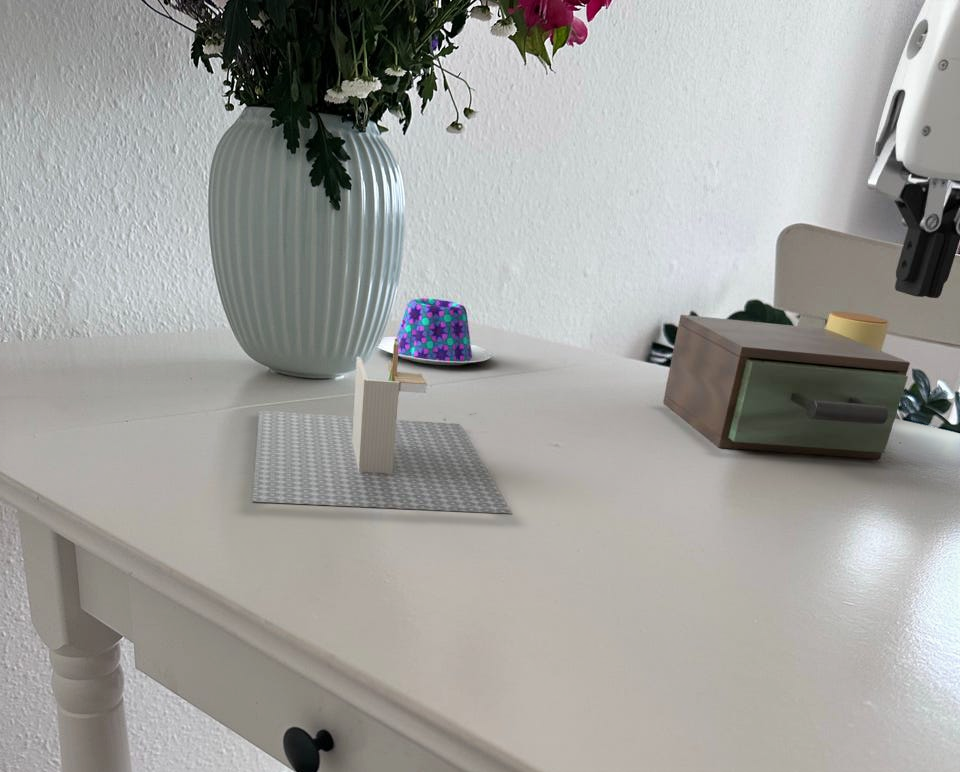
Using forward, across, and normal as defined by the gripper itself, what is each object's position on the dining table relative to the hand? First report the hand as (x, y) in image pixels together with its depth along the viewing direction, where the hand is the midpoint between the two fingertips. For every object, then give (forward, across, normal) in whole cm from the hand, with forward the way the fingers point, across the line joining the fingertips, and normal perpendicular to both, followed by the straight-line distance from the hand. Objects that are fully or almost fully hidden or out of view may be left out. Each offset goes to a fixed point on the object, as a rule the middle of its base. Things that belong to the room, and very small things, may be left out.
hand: (916, 293), depth 66 cm
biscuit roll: (+14, +11, +26) cm, 32 cm away
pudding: (+14, -29, +36) cm, 48 cm away
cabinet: (+14, -1, +16) cm, 21 cm away
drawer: (+13, -1, +12) cm, 18 cm away
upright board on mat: (+14, -37, 0) cm, 39 cm away
